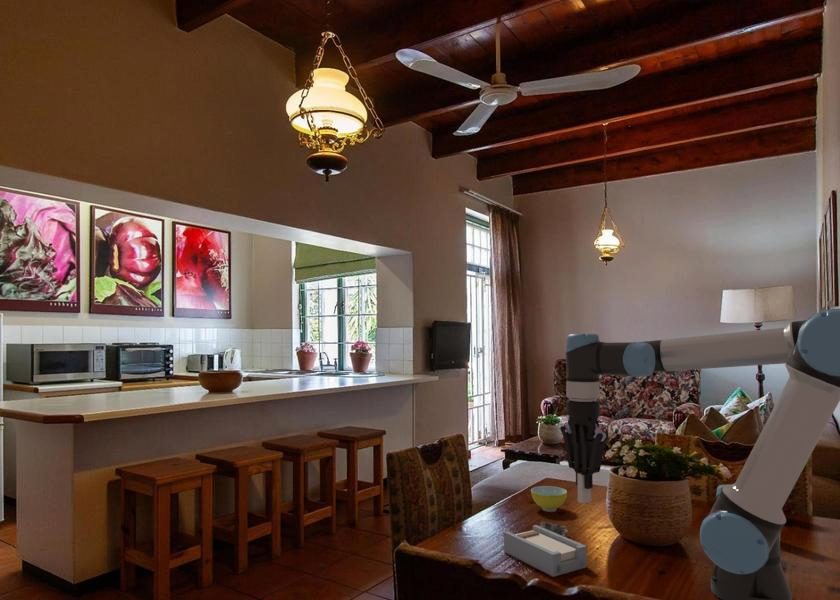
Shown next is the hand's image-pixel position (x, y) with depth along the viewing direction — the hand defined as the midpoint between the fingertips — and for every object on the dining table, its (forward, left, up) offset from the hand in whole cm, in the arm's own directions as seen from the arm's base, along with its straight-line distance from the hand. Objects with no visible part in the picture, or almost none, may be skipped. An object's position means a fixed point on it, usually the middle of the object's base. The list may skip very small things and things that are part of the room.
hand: (584, 501), depth 133 cm
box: (+14, 0, -18) cm, 22 cm away
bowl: (+44, -30, -18) cm, 56 cm away
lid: (+14, 0, -15) cm, 21 cm away
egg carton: (+23, -12, -18) cm, 31 cm away
